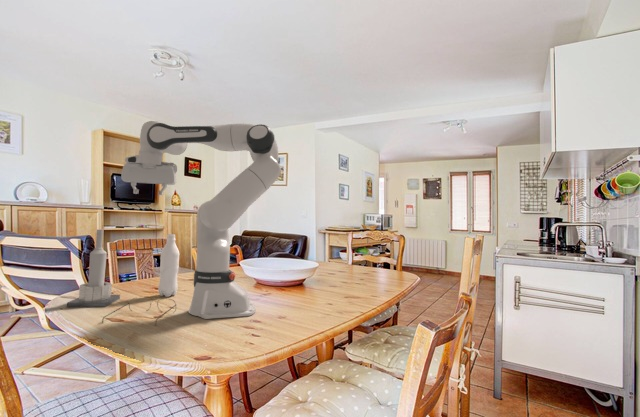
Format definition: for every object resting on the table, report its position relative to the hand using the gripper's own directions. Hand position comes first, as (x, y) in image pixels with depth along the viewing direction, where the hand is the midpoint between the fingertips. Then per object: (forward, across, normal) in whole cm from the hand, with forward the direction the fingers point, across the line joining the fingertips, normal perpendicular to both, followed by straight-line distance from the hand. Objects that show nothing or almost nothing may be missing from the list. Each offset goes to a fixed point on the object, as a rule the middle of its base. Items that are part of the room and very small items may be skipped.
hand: (148, 194), depth 133 cm
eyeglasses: (+42, -10, +31) cm, 53 cm away
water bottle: (+41, -10, +1) cm, 43 cm away
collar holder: (+41, +12, +12) cm, 44 cm away
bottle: (+40, +12, +12) cm, 43 cm away
